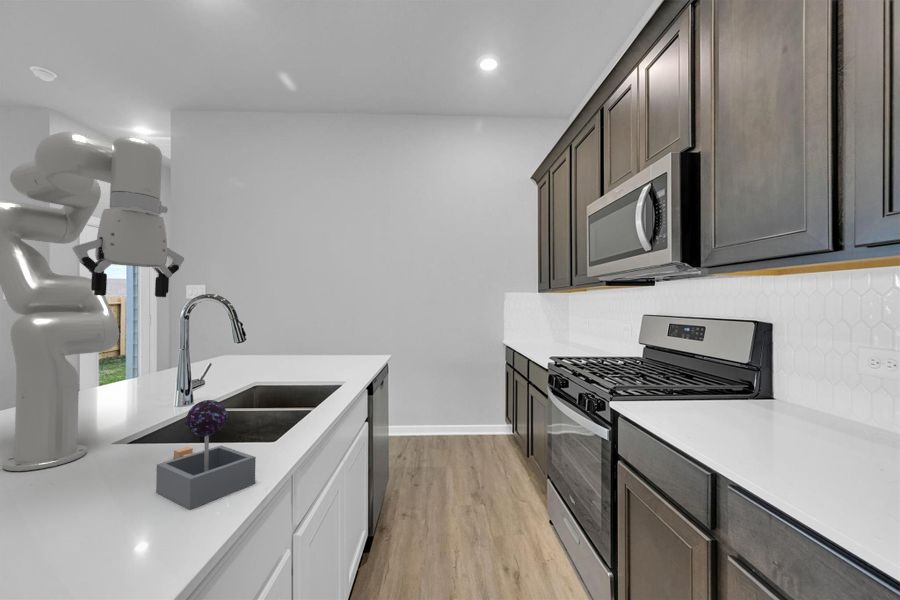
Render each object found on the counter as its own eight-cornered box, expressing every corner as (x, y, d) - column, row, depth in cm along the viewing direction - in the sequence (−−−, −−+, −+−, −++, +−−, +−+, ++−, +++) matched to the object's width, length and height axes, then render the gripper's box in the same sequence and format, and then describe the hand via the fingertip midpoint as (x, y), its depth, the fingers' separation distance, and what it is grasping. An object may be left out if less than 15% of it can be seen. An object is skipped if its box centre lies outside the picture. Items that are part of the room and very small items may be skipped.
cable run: (171, 457, 88) (171, 447, 88) (191, 453, 90) (191, 443, 90) (186, 481, 76) (186, 470, 76) (209, 476, 79) (209, 464, 79)
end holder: (156, 492, 72) (156, 464, 72) (220, 470, 81) (221, 445, 81) (189, 509, 66) (190, 479, 66) (255, 483, 75) (255, 456, 76)
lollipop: (218, 471, 78) (219, 394, 79) (233, 481, 74) (234, 399, 74) (178, 483, 73) (179, 400, 73) (192, 494, 69) (193, 406, 69)
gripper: (175, 217, 86) (172, 297, 86) (67, 197, 71) (63, 294, 71) (194, 214, 82) (190, 298, 82) (84, 193, 67) (80, 295, 67)
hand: (131, 296), depth 76 cm, fingers open, 9 cm apart
